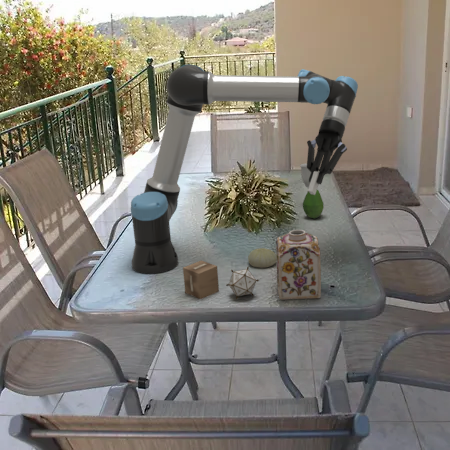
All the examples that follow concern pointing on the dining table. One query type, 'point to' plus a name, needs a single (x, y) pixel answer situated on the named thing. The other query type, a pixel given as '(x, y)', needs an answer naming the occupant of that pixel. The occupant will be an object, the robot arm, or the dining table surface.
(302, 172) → the chalice
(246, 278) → the game die
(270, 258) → the sea urchin shell
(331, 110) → the robot arm
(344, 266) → the dining table surface
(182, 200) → the dining table surface
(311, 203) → the avocado
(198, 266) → the marked walnut block
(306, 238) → the decorative jar
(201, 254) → the dining table surface
